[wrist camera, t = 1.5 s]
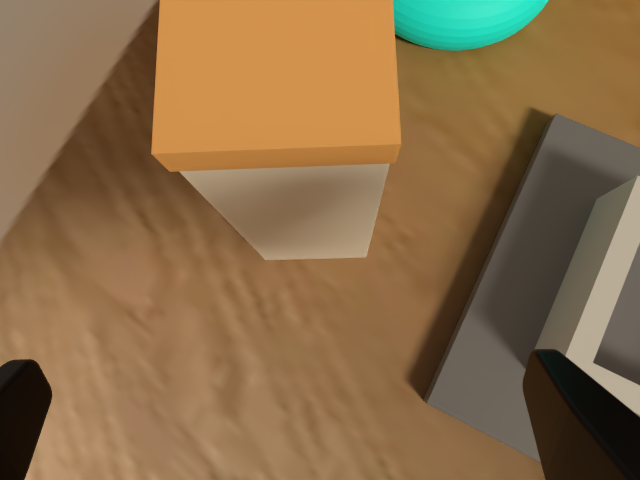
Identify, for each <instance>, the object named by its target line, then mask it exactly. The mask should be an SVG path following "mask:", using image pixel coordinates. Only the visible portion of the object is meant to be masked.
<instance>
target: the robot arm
mask: <svg viewBox="0 0 640 480" xmlns="http://www.w3.org/2000/svg"><path fill="white" fill-rule="evenodd" d="M522 386H523V394H524V398H525V402H526V406H527V410H528V414H529V418H530V422H531V426H532V430H533V434H534V437H535V441H536V445H537V449H538V453H539V457H540V461H541V465H542V468H543V472H544V476H545V479H546V480H640V417H639V416H638V415H637V414H636V413H635V412H633V411H632V410H631V409H630V408H628V407H627V406H626V405H625V404H624V403H622V402H621V401H620V400H619V399H617V398H616V397H615V396H614V395H613V394H611V393H610V392H609V391H608V390H606V389H605V388H604V387H603V386H602V385H600V384H599V383H598V382H597V381H595V380H594V379H593V378H592V377H591V376H589V375H588V374H587V373H586V372H584V371H583V370H582V369H581V368H580V367H578V366H577V365H576V364H575V363H573V362H572V361H571V360H570V359H569V358H567V357H566V356H565V355H564V354H562V353H561V352H560V351H558V350H556V349H535V350H532V351H531V353H530V355H529V358H528V362H527V366H526V370H525V374H524V377H523V384H522ZM51 399H52V390H51V387H50V385H49V383H48V381H47V379H46V377H45V375H44V374H43V372H42V370H41V368H40V366H39V364H38V363H37V362H36V361H34V360H31V359H26V360H11V361H9V362H7V363H5V364H4V365H2V366H1V367H0V480H24V479H25V477H26V474H27V471H28V469H29V466H30V463H31V460H32V457H33V454H34V451H35V448H36V445H37V442H38V439H39V436H40V433H41V430H42V427H43V424H44V421H45V418H46V415H47V412H48V409H49V406H50V403H51Z"/></svg>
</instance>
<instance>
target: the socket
mask: <svg viewBox="0 0 640 480" xmlns="http://www.w3.org/2000/svg"><path fill="white" fill-rule="evenodd" d="M535 349H556V350H558V351H560V352H561V353H562V354H564V355H565V356H566V357H567V358H569V359H570V360H571V361H572V362H573V363H575V364H576V365H577V366H578V367H580V368H581V369H582V370H583V371H584V372H586V373H587V374H588V375H589V376H591V377H592V378H593V379H594V380H595V381H597V382H598V383H599V384H600V385H602V386H603V387H604V388H605V389H606V390H608V391H609V392H610V393H611V394H613V395H614V396H615V397H616V398H617V399H619V400H620V401H621V402H622V403H624V404H625V405H626V406H627V407H628V408H630V409H631V410H632V411H633V412H635V413H636V414H637V415H638V416H639V417H640V148H639V147H636V146H634V145H631V144H629V143H626V142H624V141H622V140H619V139H617V138H614V137H612V136H609V135H607V134H605V133H602V132H600V131H597V130H595V129H593V128H590V127H588V126H585V125H583V124H580V123H578V122H576V121H573V120H571V119H568V118H566V117H563V116H561V115H559V114H555V115H554V116H553V117H552V118H551V119H550V120H549V121H548V123H547V124H546V126H545V128H544V131H543V133H542V135H541V137H540V140H539V142H538V144H537V146H536V149H535V151H534V153H533V155H532V158H531V160H530V162H529V164H528V166H527V169H526V171H525V173H524V175H523V178H522V180H521V182H520V184H519V187H518V189H517V191H516V193H515V196H514V198H513V200H512V202H511V205H510V207H509V209H508V211H507V213H506V216H505V218H504V220H503V222H502V225H501V227H500V229H499V231H498V234H497V236H496V238H495V240H494V243H493V245H492V247H491V249H490V252H489V254H488V256H487V258H486V260H485V263H484V265H483V267H482V269H481V272H480V274H479V276H478V278H477V281H476V283H475V285H474V287H473V290H472V292H471V294H470V296H469V298H468V301H467V303H466V305H465V307H464V310H463V312H462V314H461V316H460V319H459V321H458V323H457V325H456V328H455V330H454V332H453V334H452V337H451V339H450V341H449V343H448V345H447V348H446V350H445V352H444V354H443V357H442V359H441V361H440V363H439V366H438V368H437V370H436V372H435V375H434V377H433V379H432V381H431V383H430V386H429V388H428V390H427V392H426V395H425V397H424V399H423V401H424V402H426V403H427V404H429V405H431V406H433V407H435V408H437V409H439V410H441V411H443V412H445V413H446V414H448V415H450V416H452V417H454V418H456V419H458V420H460V421H462V422H464V423H466V424H468V425H470V426H471V427H473V428H475V429H477V430H479V431H481V432H483V433H485V434H487V435H489V436H491V437H493V438H494V439H496V440H498V441H500V442H502V443H504V444H506V445H508V446H510V447H512V448H514V449H516V450H518V451H519V452H521V453H523V454H525V455H527V456H529V457H531V458H533V459H535V460H537V461H539V462H541V461H540V457H539V453H538V449H537V445H536V441H535V437H534V434H533V430H532V426H531V422H530V418H529V414H528V410H527V406H526V402H525V398H524V394H523V386H522V384H523V377H524V374H525V370H526V366H527V362H528V358H529V355H530V353H531V351H532V350H535Z"/></svg>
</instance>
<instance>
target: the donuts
mask: <svg viewBox="0 0 640 480" xmlns="http://www.w3.org/2000/svg"><path fill="white" fill-rule="evenodd" d="M548 1H549V0H393V11H394V28H395V34H396V35H398V36H400V37H401V38H403V39H405V40H407V41H410V42H412V43H414V44H417V45H420V46H423V47H427V48H432V49H438V50H447V51H460V50H470V49H476V48H480V47H484V46H488V45H491V44H494V43H496V42H499V41H501V40H504V39H506V38H508V37H509V36H511V35H513V34H515V33H516V32H518V31H519V30H521V29H522V28H523V27H525V26H526V25H527V24H528V23H529V22H530V21H531V20H533V19H534V18H535V17H536V16H537V15H538V14H539V13H540V11H541V10H542V9H543V8H544V6H545V5H546V4H547V2H548Z"/></svg>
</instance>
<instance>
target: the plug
mask: <svg viewBox="0 0 640 480" xmlns="http://www.w3.org/2000/svg"><path fill="white" fill-rule="evenodd" d="M400 147H401V130H400V113H399V96H398V79H397V62H396V45H395V28H394V11H393V0H160V8H159V26H158V43H157V61H156V79H155V97H154V114H153V132H152V150H151V154H152V155H153V156H154V157H155V158H156V159H157V160H158V161H159V162H160V163H161V164H162V165H163V166H164V167H165V168H166V169H167V170H168V171H169V172H176V171H179V172H180V173H181V174H182V175H183V176H184V177H185V178H186V179H187V180H188V181H189V182H190V183H191V184H192V186H193V187H194V188H195V189H196V190H197V191H198V192H199V193H200V194H201V195H202V196H203V197H204V198H205V199H206V200H207V201H208V202H209V203H210V204H211V205H212V206H213V207H214V208H215V209H216V210H217V211H218V212H219V213H220V214H221V215H222V216H223V217H224V218H225V219H226V220H227V221H228V222H229V223H230V224H231V225H232V226H233V227H234V229H235V230H236V231H237V232H238V233H239V234H240V235H241V236H242V237H243V238H244V239H245V240H246V241H247V242H248V243H249V244H250V245H251V246H252V247H253V248H254V249H255V250H256V251H257V252H258V253H259V254H260V255H261V256H262V257H263V258H264V259H265V260H291V259H326V258H361V257H367V253H368V249H369V245H370V241H371V237H372V233H373V229H374V225H375V221H376V217H377V212H378V208H379V204H380V200H381V196H382V192H383V188H384V184H385V180H386V176H387V172H388V168H389V164H390V163H396V161H397V158H398V154H399V150H400Z"/></svg>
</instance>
